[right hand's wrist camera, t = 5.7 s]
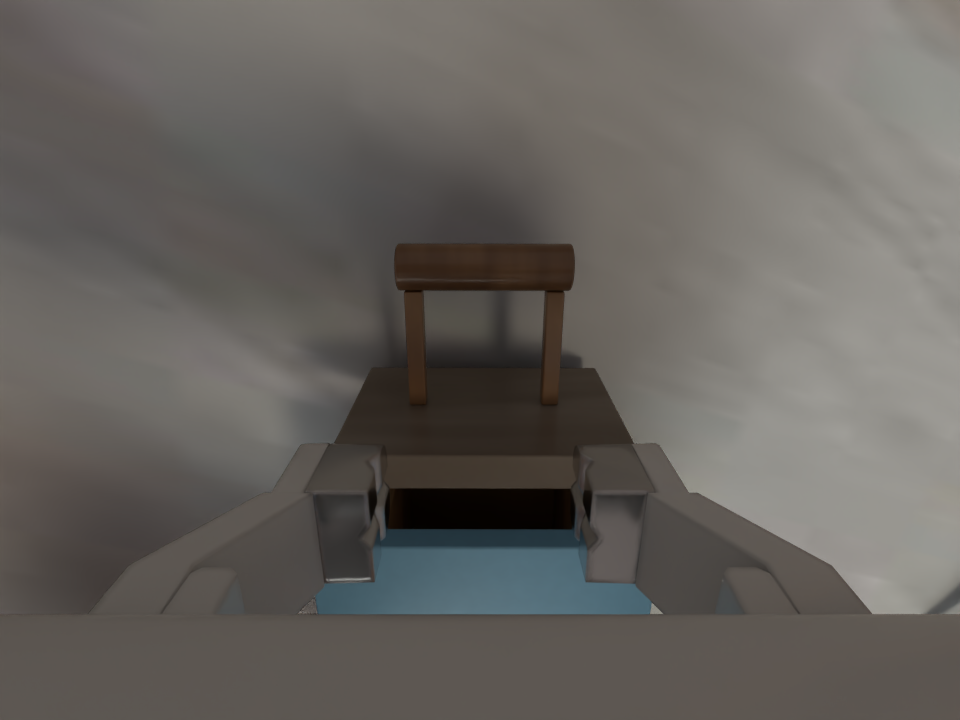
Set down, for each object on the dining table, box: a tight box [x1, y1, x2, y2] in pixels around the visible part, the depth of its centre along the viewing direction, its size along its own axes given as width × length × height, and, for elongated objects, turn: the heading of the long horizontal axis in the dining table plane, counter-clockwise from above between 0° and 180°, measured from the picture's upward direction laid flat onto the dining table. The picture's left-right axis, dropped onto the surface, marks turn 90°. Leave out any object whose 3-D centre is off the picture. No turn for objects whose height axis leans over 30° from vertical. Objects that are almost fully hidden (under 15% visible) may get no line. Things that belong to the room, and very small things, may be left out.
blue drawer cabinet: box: [315, 529, 652, 614], centre depth 23 cm, size 13×11×9 cm
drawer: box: [334, 244, 634, 529], centre depth 20 cm, size 17×9×7 cm, turn 0°
